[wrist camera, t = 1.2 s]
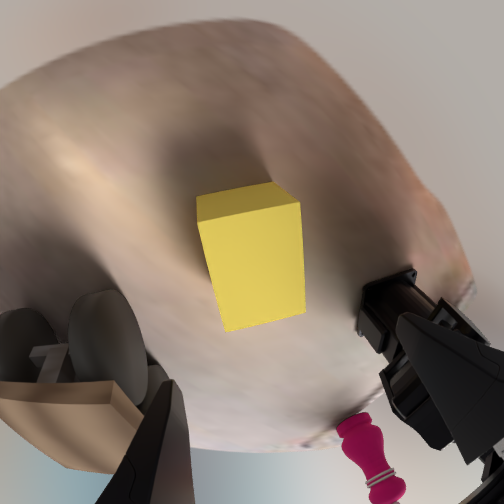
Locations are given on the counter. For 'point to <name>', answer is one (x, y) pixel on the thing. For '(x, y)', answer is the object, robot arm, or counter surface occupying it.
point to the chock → (253, 253)
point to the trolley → (77, 382)
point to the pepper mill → (371, 458)
